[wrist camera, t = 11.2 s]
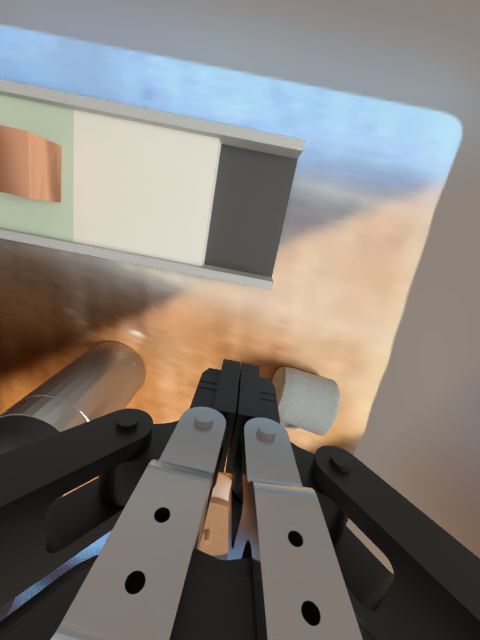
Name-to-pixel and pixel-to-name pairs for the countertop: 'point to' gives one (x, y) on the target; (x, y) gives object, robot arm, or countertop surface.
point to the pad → (60, 130)
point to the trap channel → (172, 189)
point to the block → (29, 165)
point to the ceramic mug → (306, 400)
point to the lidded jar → (217, 519)
